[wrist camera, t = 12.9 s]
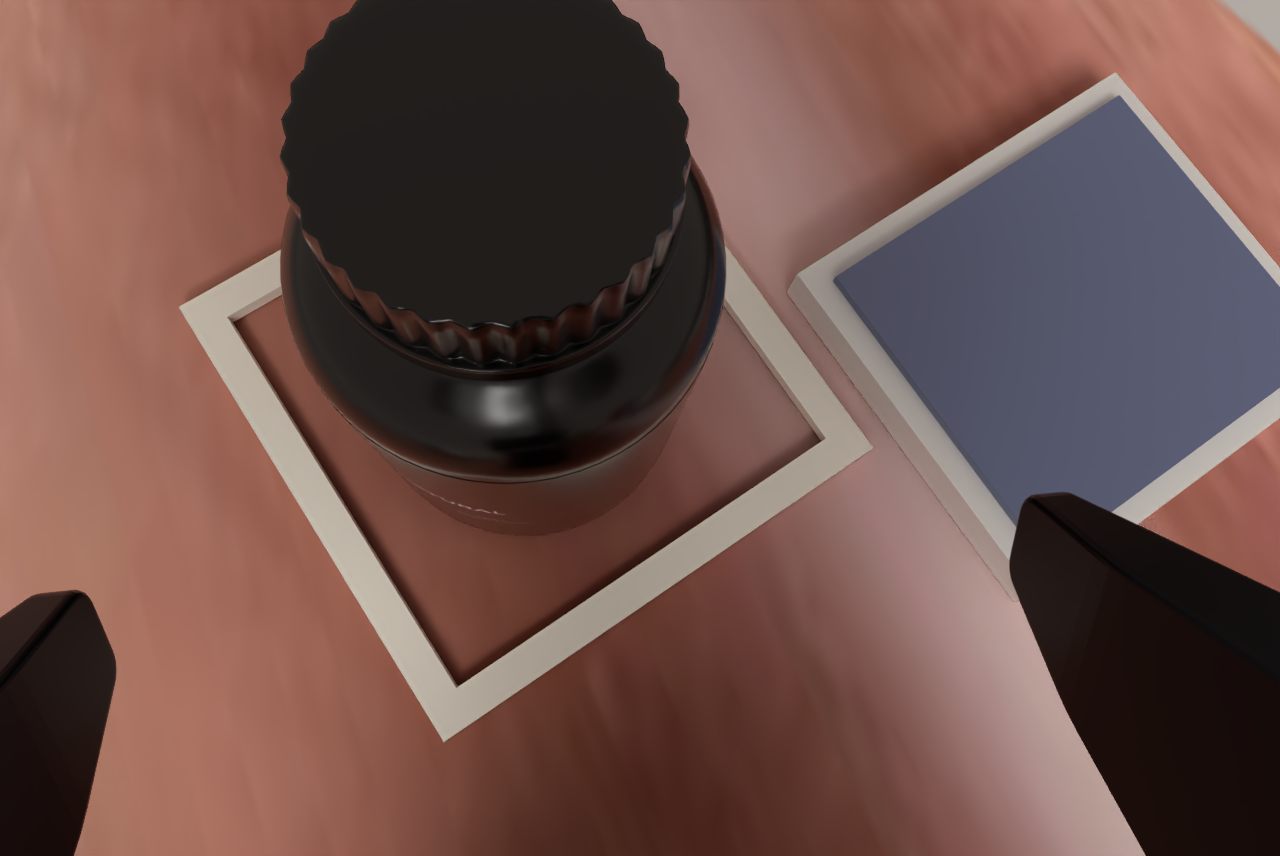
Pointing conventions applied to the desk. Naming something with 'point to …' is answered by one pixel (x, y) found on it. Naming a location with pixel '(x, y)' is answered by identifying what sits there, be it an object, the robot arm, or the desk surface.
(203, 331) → the marked square
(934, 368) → the ink pad
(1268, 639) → the robot arm
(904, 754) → the desk surface
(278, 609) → the desk surface
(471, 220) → the supplement bottle
